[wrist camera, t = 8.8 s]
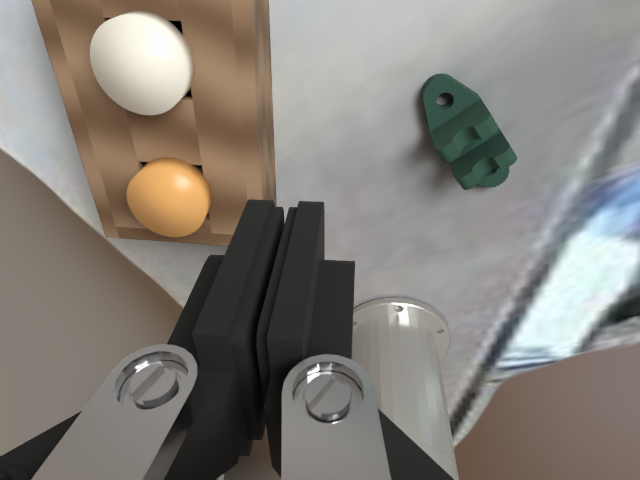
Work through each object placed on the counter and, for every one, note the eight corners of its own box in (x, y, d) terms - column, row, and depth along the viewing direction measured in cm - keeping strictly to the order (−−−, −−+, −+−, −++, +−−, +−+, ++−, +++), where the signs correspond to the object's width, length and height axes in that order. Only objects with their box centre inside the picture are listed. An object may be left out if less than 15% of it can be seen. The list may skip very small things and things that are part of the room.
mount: (405, 94, 36) (410, 117, 32) (455, 58, 34) (468, 77, 30) (473, 191, 40) (485, 221, 36) (520, 163, 38) (539, 192, 34)
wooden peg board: (276, 211, 43) (265, 248, 38) (134, 201, 44) (105, 237, 39) (267, -32, 31) (249, -23, 26) (73, -39, 32) (21, -31, 27)
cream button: (216, 89, 35) (191, 117, 30) (140, 85, 35) (103, 112, 30) (206, 2, 31) (176, 18, 26) (122, -1, 31) (77, 14, 27)
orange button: (228, 201, 40) (209, 239, 36) (163, 196, 41) (136, 234, 36) (221, 138, 37) (199, 171, 32) (150, 134, 37) (118, 166, 32)
